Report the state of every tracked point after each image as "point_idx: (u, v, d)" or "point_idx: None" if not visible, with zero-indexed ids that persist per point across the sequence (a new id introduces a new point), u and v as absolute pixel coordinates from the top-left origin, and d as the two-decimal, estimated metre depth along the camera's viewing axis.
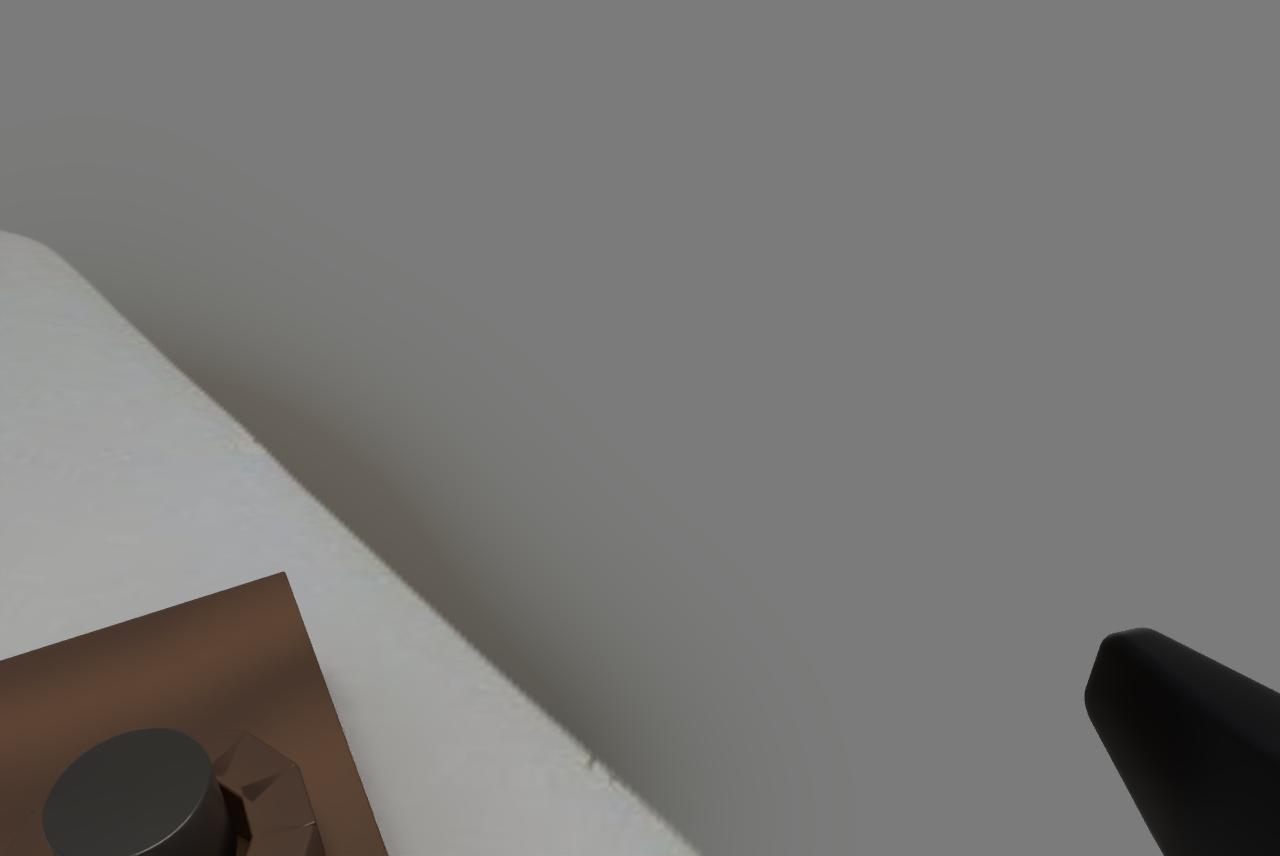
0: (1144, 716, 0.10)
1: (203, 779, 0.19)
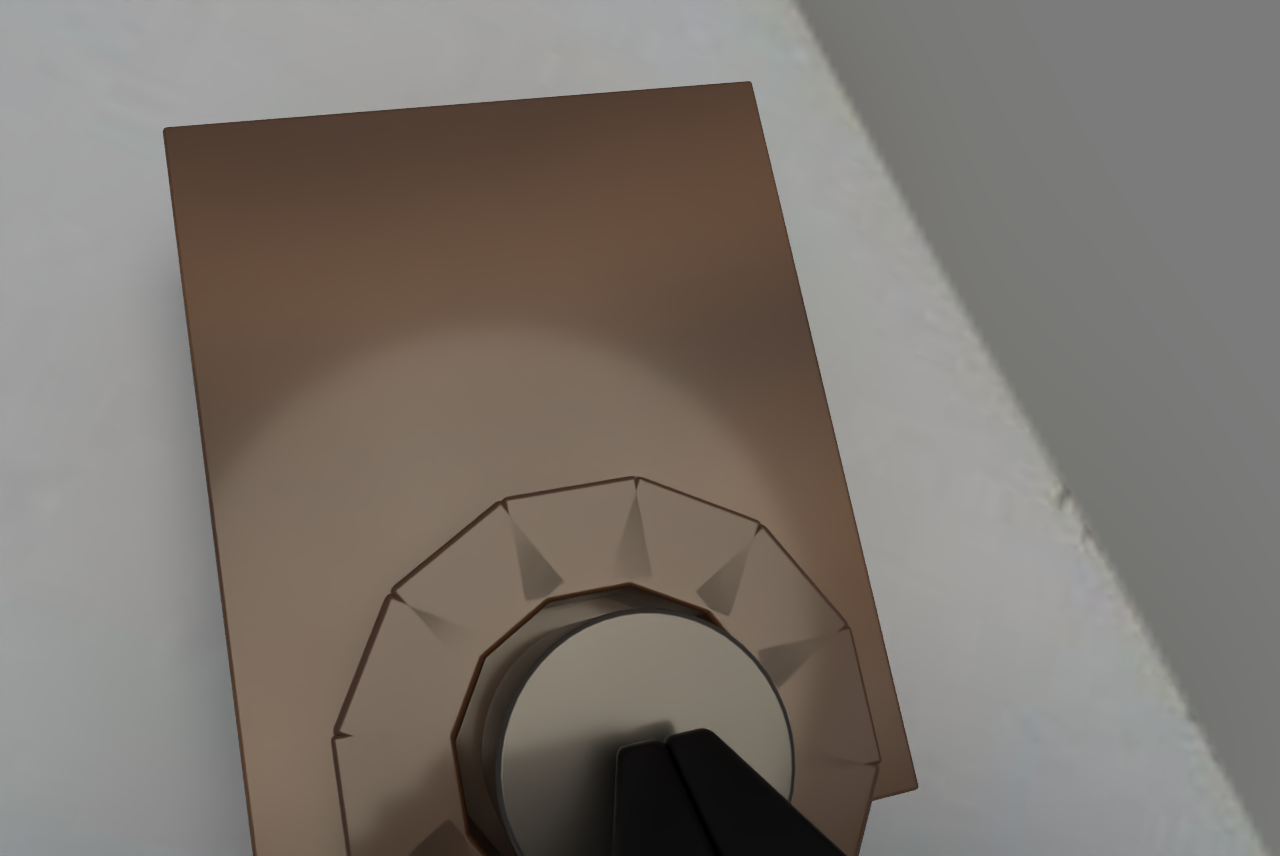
0: None
1: (783, 770, 0.10)
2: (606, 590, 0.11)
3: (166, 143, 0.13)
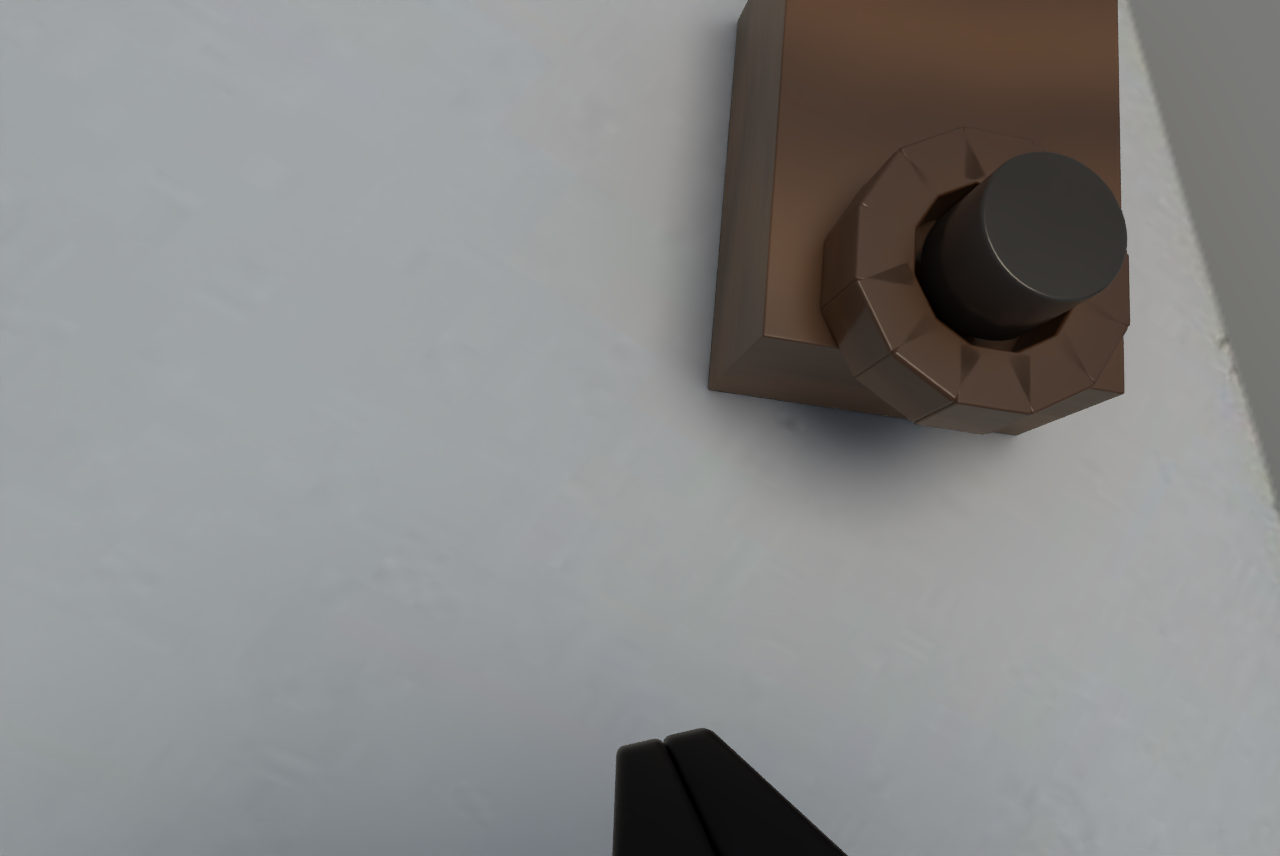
0: None
1: (1118, 254, 0.18)
2: None
3: None
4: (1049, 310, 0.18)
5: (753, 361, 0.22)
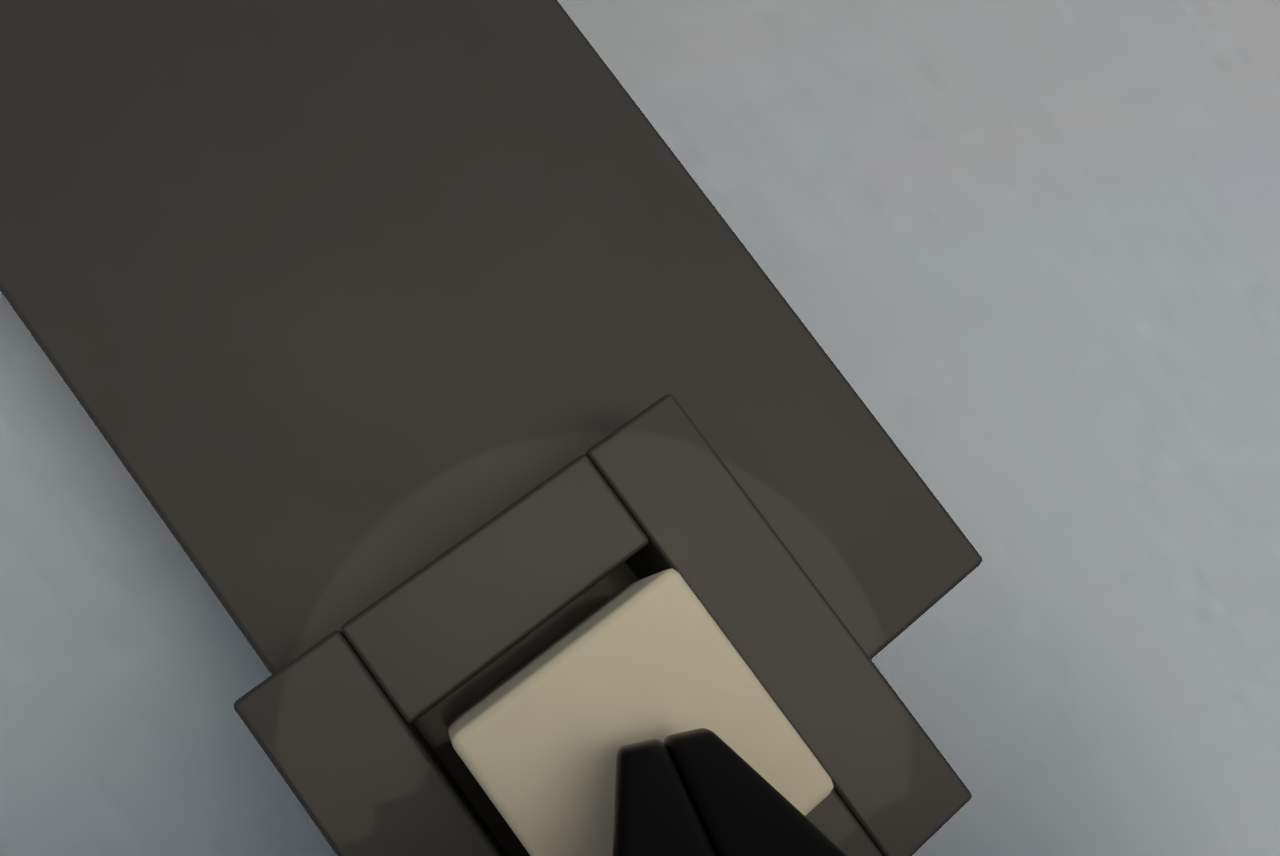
0: None
1: None
2: None
3: None
4: None
5: None
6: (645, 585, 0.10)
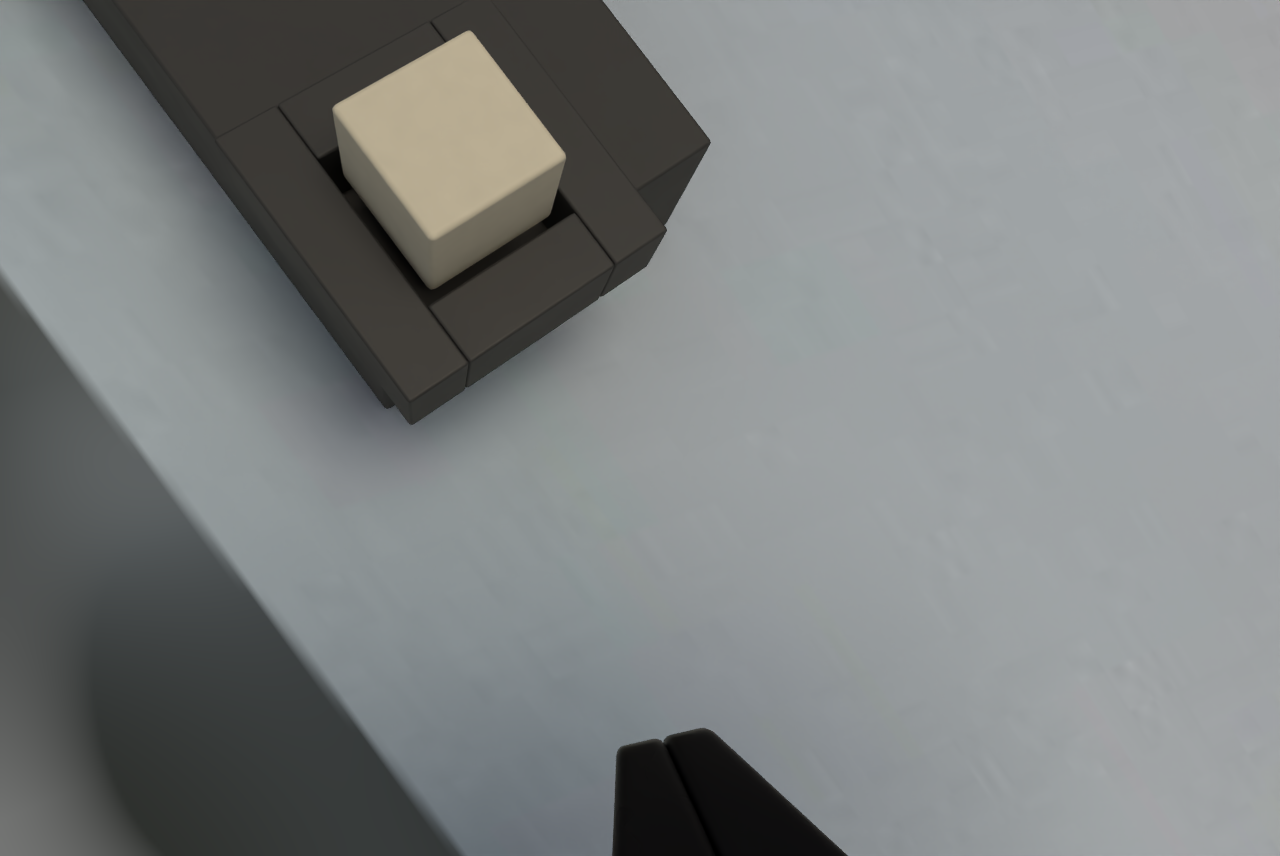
0: None
1: None
2: None
3: None
4: None
5: None
6: (452, 39, 0.16)
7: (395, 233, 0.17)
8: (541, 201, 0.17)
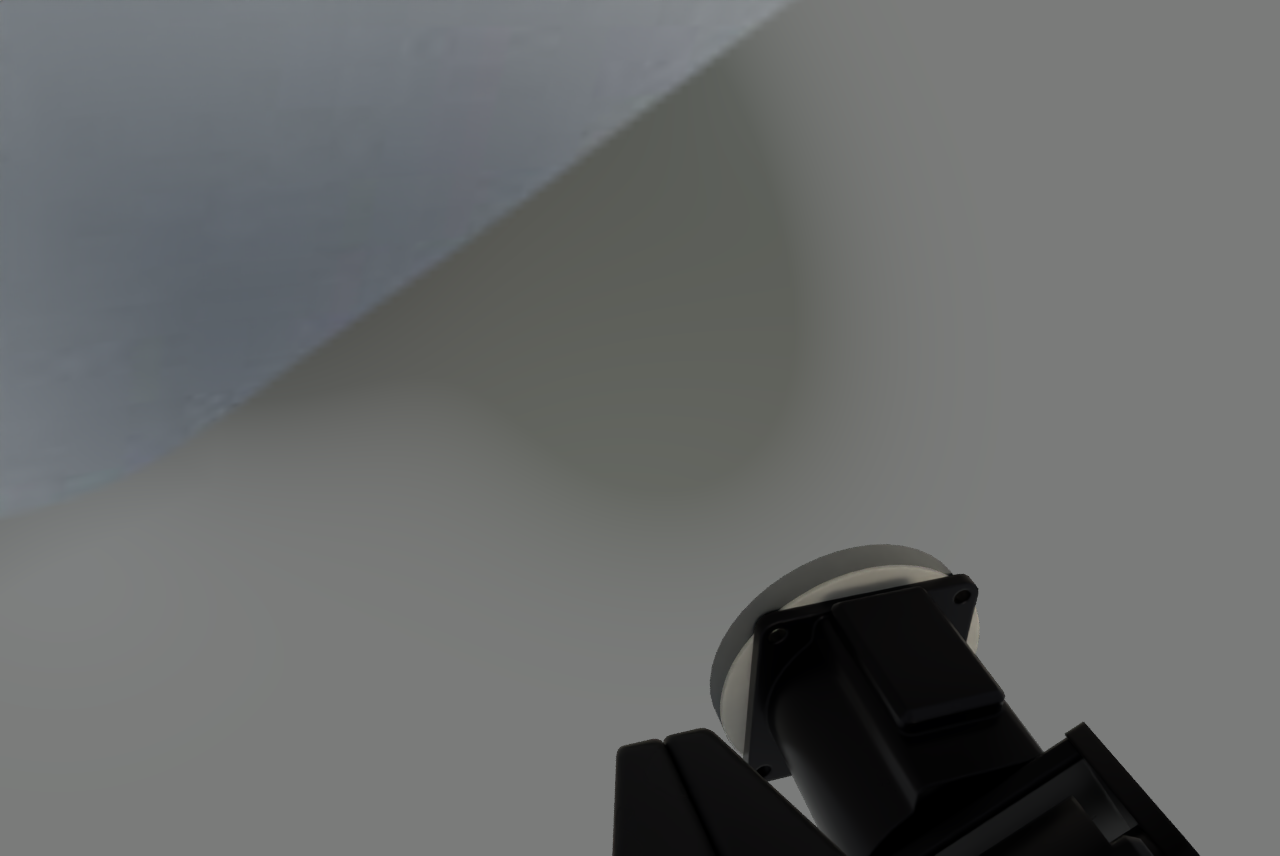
0: None
1: None
2: None
3: None
4: None
5: None
6: None
7: None
8: None
